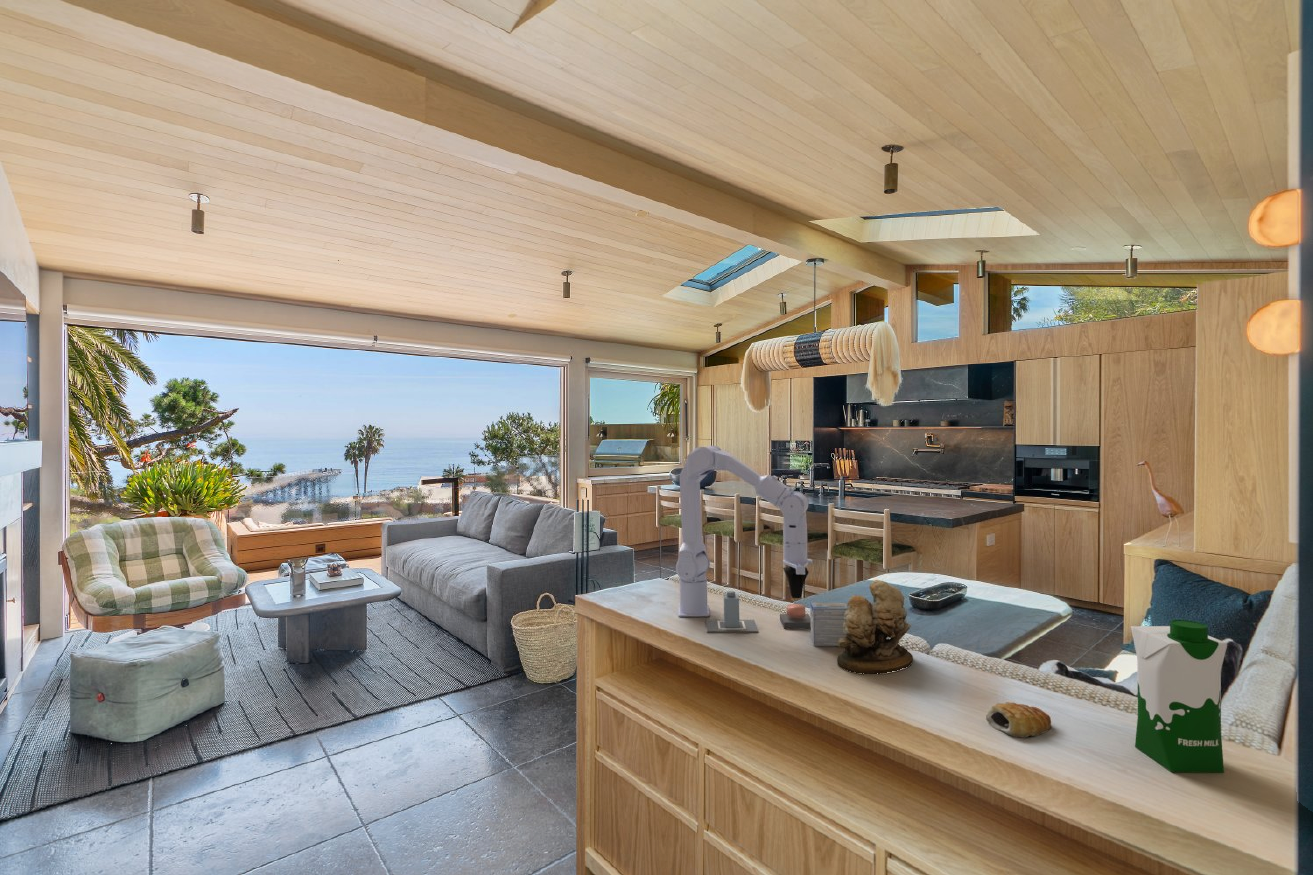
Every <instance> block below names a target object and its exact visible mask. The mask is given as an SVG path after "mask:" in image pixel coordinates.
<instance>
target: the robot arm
mask: <svg viewBox="0 0 1313 875" xmlns="http://www.w3.org/2000/svg"><path fill="white" fill-rule="evenodd" d="M714 471H728V473H731V474H733V475H735V476H736V477H738V478H740V479H741V480H743V481H744V482H746V483H748V484H750V485H751V486H753V488H754V491H755V493H756V495H758V497H761V498H762V499H764V500H765V501H767V502H768V503H769V504H771V505H773V506H774V507H775V508H778V509H779V510H780V513H781V514H782V516H783V517H782V519H783V523H782V534H783V535H782V538H783V539H782V540H783V542H782V543H783V544H782V546H783V558H782V564H783V565H785V566H788V567H783V568H782V569H783V572H784V573H785V576H786V579H787V582H788V587H789V588H788V589H789V592H790V597H791V598H792V599H801V598H802V595H803V590H804V586H805V581H806V579H807V577H808V576H809V570H808V568H807V566H808V565H809V564H813V560H812V559H811V558H808V524H807V513H806V511H807V510H808V508H809V500H808V498H807V496H805V495H804V494H803V492H801V491H798V490H797V491H796V490H795V488H794V487H792V486H790V487H789V486H788V485H786V484H785V483H783V482H781V481H780V480H778V479H779V477H778V476H776V475H770V474H766V475H761V474H760V473H758V472H757V471H756V470H754V469H752V467H750V466H748V465H747V464H745V463H744V462H742V461H741V460H740V459H738V458H737V457H735V456H734V455H732V454H731V453H729V451H726V450H723V449H721V448H720V447H719V446H716V445H709V446H697V447H696V448H694V449H693V450H691V452H689V453H688V454H687V456H686V461H685V463H684V465H683V467H682V469H681V472H679V473H680V474H679V494H680V497H679V498H680V516H681V517H680V518H681V519H680V520H681V521H680V522H681V534H682V535H681V540H682V543H681V545H680V548H679V550H678V558H677V561H676V564H675V572H676V574H677V575H678V577H679V604H678V617H710V606H709V605H708V575H707V572H708V571H709V569H710V567H711V566H710V565H711V560H710V557H709V556H708V554H707V547H706V545H705V543H704V541H703V524H702V504H701V481H702V480H703V479H705V477H707V475H709V474H710V473H711V472H714Z"/></svg>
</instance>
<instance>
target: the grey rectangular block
mask: <svg viewBox="0 0 1313 875" xmlns="http://www.w3.org/2000/svg"><path fill="white" fill-rule="evenodd" d="M723 620H724V625H725V627H739V620H740V597H739V594H736V592H735V591H731V590H729V591H727V592H726V594H723Z"/></svg>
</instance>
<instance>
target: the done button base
mask: <svg viewBox="0 0 1313 875" xmlns="http://www.w3.org/2000/svg"><path fill="white" fill-rule="evenodd" d="M779 621H780V624H781V625H782V627H783V629H785V630H787V629H786V628H811V619H810V614H808V613H805V617H803V618H792V617H789V616H787V613H779Z"/></svg>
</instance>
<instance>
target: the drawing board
mask: <svg viewBox="0 0 1313 875" xmlns="http://www.w3.org/2000/svg"><path fill="white" fill-rule="evenodd" d="M705 624H706V632H707V634H718V633H720V634H729V633H730V634H735V633H736V634H746V633H747V634H756V633H757V634H758V633H759V629H758V627H757V624H756V621H755V619H739V627H725V625H724V619H705Z"/></svg>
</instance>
